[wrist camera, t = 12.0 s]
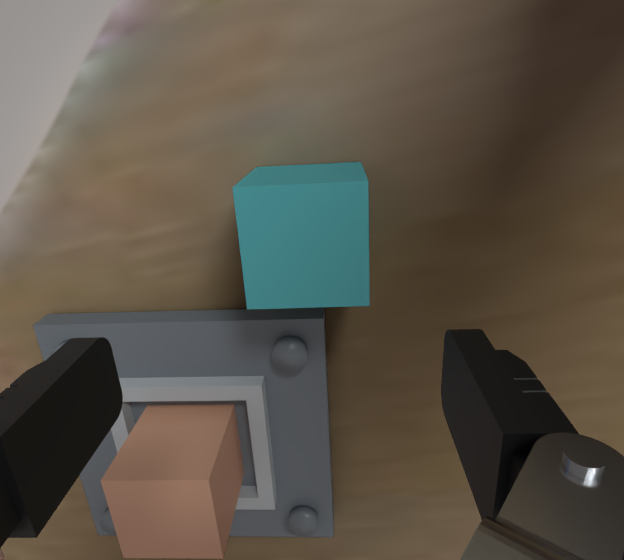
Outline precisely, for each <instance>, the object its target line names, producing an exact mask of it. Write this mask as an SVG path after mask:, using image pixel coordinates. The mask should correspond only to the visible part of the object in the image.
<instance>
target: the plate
mask: <svg viewBox="0 0 624 560" xmlns="http://www.w3.org/2000/svg"><path fill="white" fill-rule="evenodd" d="M33 327H34V330H35V334H36V337H37V340H38V343H39V346H40V350H41V353H42V356H43V359H44V361H45V360H47V359H48V358H49V357H50V356H51V355H52V354H53V353H55V352H56V351H57V350H58V349H59V348H60V347H61V346H62V345H63V344H65V343H66V342H67V341H68V340H69V339H71V338H92V337H104V338H106V339H107V340H108V341H109V342H110V345H111V348H112V352H113V356H114V360H115V364H116V368H117V372H118V377H119V381H120V385H121V389H122V395H123V402H122V409H121V412H120V415H119V417H118V419H117V421H116V422H115V424H114V425H113V426H112V428H111V429H110V431H109V432H108V434H107V435H106V437H105V438H104V440H103V441H102V443H101V444H100V445H99V447H98V448H97V450H96V451H95V453H94V454H93V456H92V457H91V459H90V460H89V462H88V463H87V465H86V466H85V467H84V469H83V470H82V472H81V473H80V478H81V481H82V484H83V488H84V491H85V494H86V497H87V500H88V504H89V507H90V510H91V513H92V516H93V520H94V523H95V526H96V529H97V533H98V535H117V534H116V531H115V527H114V524H113V521H112V517H111V514H110V511H109V507H108V504H107V501H106V497H105V494H104V491H103V487H102V484H101V479H102V478H103V476H104V474H105V473H106V471H107V470H108V468H109V466H110V465H111V463H112V461H113V460H114V458H115V457H116V455H117V453H118V452H119V450H120V449H121V447H122V445H123V444H124V442H125V440H126V439H127V437H128V436H129V434H130V432H131V431H132V429H133V428H134V426H135V424H136V423H137V421H138V419H139V418H140V416H141V415H142V413H143V411H144V410H145V408H146V407H147V405H198V404H234V405H235V412H236V419H237V426H238V432H239V439H240V446H241V453H242V460H243V467H244V477H243V481H242V485H241V489H240V493H239V497H238V501H237V505H236V509H235V513H234V517H233V521H232V525H231V529H230V533H229V536H253V537H334V511H333V489H332V467H331V444H330V422H329V400H328V378H327V355H326V333H325V311H324V307H315V308H281V309H232V310H192V311H151V312H111V313H70V314H48V315H46V316H45V317H44V318H42V319H41V320H39V321H38V322H37V323H35V324H34V325H33Z"/></svg>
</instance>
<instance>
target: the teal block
mask: <svg viewBox="0 0 624 560" xmlns="http://www.w3.org/2000/svg"><path fill="white" fill-rule="evenodd" d="M233 195H234V204H235V212H236V221H237V229H238V237H239V246H240V254H241V262H242V271H243V279H244V288H245V296H246V304H247V309H281V308H315V307H350V306H370V301H369V195H368V179H367V176H366V174H365V171H364V169H363V166H362V164H361V162H347V163H327V164H307V165H288V166H268V167H256V168H255V169H254V170H252V171H251V172H250V173H249V174H248V175H247V176H245V177H244V178H243V179H242V180H241V181H239V182H238V183H237V184H236V185H235V186H233Z"/></svg>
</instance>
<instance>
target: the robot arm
mask: <svg viewBox="0 0 624 560" xmlns="http://www.w3.org/2000/svg"><path fill="white" fill-rule="evenodd" d="M441 397H442V406H443V411H444V415H445V418H446V421H447V424H448V426H449V429H450V432H451V435H452V438H453V440H454V443H455V446H456V449H457V451H458V454H459V457H460V460H461V463H462V465H463V468H464V471H465V474H466V477H467V479H468V482H469V485H470V488H471V491H472V493H473V496H474V499H475V502H476V504H477V507H478V510H479V513H480V516H481V518H482V521H481V523H480V524H479V526H478V528H477V529H476V531H475V533H474V535H473V537H472V539H471V540H470V542H469V544H468V546H467V548H466V550H465V551H464V553H463V555H462V557H461V559H460V560H624V456H623V455H621V454H620V453H619V452H617V451H616V450H615V449H613V448H611V447H610V446H608V445H606V444H604V443H602V442H600V441H598V440H595V439H593V438H590V437H587V436H584V435H580V434H579V433H578V432H577V430H576V429H575V428H574V426H573V425H572V424H571V422H570V421H569V420H568V418H567V417H566V416H565V414H564V413H563V412H562V410H561V409H560V408H559V406H558V405H557V404H556V402H555V401H554V400H553V398H552V397H551V396H550V394H549V393H546V389H545V388H544V386H543V385H542V383H541V382H540V381H539V380H537V377H536V375H535V374H534V373H533V371H532V370H531V369H530V367H529V366H528V365H527V363H526V362H525V361H523V360H522V359H520V358H518V357H517V356H515V355H514V354H512V353H511V352H509V351H508V350H495V349H494V347H493V346H492V344H491V343H490V341H489V340H488V338H487V337H486V335H485V334H484V332H483V331H482V330H481V329H460V330H447V331H446V333H445V338H444V353H443V368H442V384H441ZM122 402H123V395H122V389H121V385H120V381H119V377H118V372H117V368H116V364H115V360H114V356H113V352H112V348H111V345H110V342H109V341H108V340H107V339H106V338H104V337H92V338H71V339H69V340H68V341H67V342H66V343H65V344H63V345H62V346H61V347H60V348H59V349H58V350H57V351H56V352H55V353H53V354H52V355H51V356H50V357H49V358H48V359H47V360H45V361H43V362H42V363H40V364H38V365H36V366H34V367H33V368H31V369H29V370H27V371H26V372H25V373H23V374H22V375H21V376H20V377H19V378H18V379H16V380H15V381H14V382H13V383H12V384H11V385H10V388H6V389H5V390H4V391H3V392H2V393H0V560H5V558H4V555H3V553H2V550H1V546H2V545H3V544H4V542H5V541H6V540H7V538H37V536H38V535H39V533H40V532H41V530H42V529H43V528H44V526H45V525H46V523H47V522H48V520H49V519H50V517H51V516H52V514H53V513H54V511H55V510H56V509H57V507H58V506H59V504H60V503H61V501H62V500H63V498H64V497H65V495H66V494H67V492H68V491H69V489H70V488H71V487H72V485H73V484H74V482H75V481H76V479H77V478H78V476H79V475H80V473H81V472H82V470H83V469H84V467H85V466H86V465H87V463H88V462H89V460H90V459H91V457H92V456H93V454H94V453H95V451H96V450H97V448H98V447H99V445H100V444H101V443H102V441H103V440H104V438H105V437H106V435H107V434H108V432H109V431H110V429H111V428H112V426H113V425H114V424H115V422H116V421H117V419H118V417H119V415H120V412H121V409H122Z"/></svg>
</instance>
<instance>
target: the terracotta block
mask: <svg viewBox="0 0 624 560" xmlns="http://www.w3.org/2000/svg"><path fill="white" fill-rule="evenodd" d="M243 477H244V467H243V460H242V453H241V446H240V439H239V432H238V426H237V419H236V412H235V405H234V404H198V405H147V407H146V408H145V410H144V411H143V413H142V415H141V416H140V418H139V419H138V421H137V423H136V424H135V426H134V428H133V429H132V431H131V432H130V434H129V436H128V437H127V439H126V440H125V442H124V444H123V445H122V447H121V449H120V450H119V452H118V453H117V455H116V457H115V458H114V460H113V461H112V463H111V465H110V466H109V468H108V470H107V471H106V473H105V474H104V476H103V478H102V479H101V484H102V487H103V491H104V494H105V497H106V501H107V504H108V507H109V511H110V514H111V517H112V521H113V524H114V527H115V531H116V534H117V537H118V541H119V544H120V547H121V551H122V554H123V557H124V558H177V559H223V558H224V554H225V550H226V545H227V541H228V537H229V533H230V529H231V525H232V521H233V517H234V513H235V509H236V505H237V501H238V497H239V493H240V489H241V485H242V481H243Z"/></svg>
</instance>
